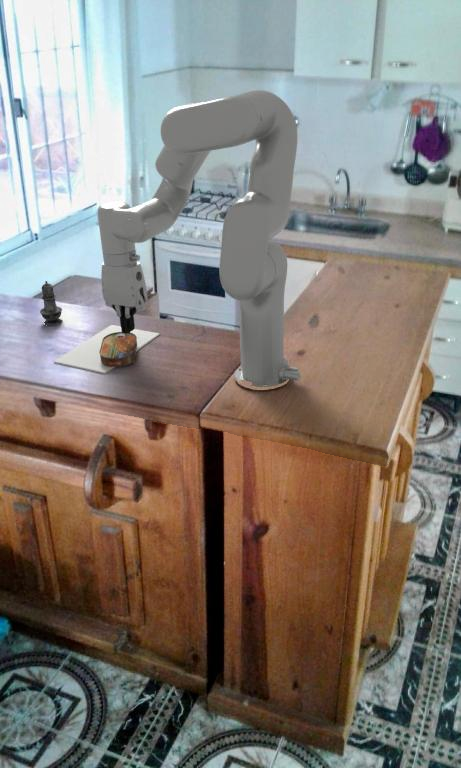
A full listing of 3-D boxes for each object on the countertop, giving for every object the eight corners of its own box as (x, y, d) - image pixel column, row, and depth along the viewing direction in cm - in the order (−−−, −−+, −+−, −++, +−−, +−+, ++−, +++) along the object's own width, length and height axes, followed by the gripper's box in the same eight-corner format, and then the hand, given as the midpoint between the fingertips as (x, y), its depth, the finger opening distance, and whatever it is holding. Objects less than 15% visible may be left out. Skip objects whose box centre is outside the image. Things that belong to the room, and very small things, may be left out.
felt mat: (159, 334, 183) (159, 333, 183) (105, 373, 164) (105, 372, 164) (111, 326, 189) (111, 324, 189) (53, 362, 170) (53, 361, 170)
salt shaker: (67, 323, 192) (60, 281, 186) (46, 328, 189) (39, 286, 184) (58, 316, 196) (52, 275, 191) (38, 322, 193) (31, 280, 188)
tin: (133, 357, 165) (96, 356, 164) (133, 369, 166) (97, 368, 166) (138, 330, 178) (104, 330, 178) (138, 342, 179) (105, 341, 179)
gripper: (156, 256, 163) (162, 329, 171) (102, 249, 169) (111, 321, 177) (138, 266, 157) (146, 341, 165) (83, 259, 163) (93, 332, 171)
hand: (128, 330), depth 171 cm, fingers closed
